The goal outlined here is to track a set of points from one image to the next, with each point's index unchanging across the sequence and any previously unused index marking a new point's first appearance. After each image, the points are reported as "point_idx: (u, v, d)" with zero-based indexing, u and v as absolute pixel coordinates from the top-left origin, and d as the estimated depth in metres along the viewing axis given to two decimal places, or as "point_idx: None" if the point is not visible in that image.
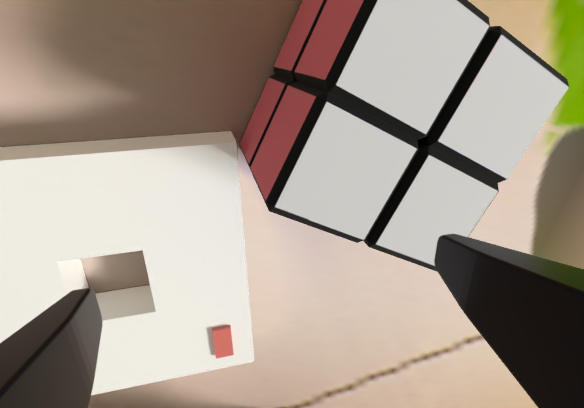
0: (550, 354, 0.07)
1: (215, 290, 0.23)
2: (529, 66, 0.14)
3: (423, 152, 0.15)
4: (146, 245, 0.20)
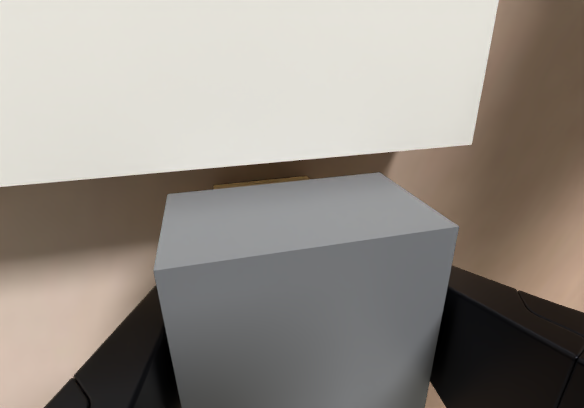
0: (467, 374, 0.07)
1: None
2: None
3: None
4: None
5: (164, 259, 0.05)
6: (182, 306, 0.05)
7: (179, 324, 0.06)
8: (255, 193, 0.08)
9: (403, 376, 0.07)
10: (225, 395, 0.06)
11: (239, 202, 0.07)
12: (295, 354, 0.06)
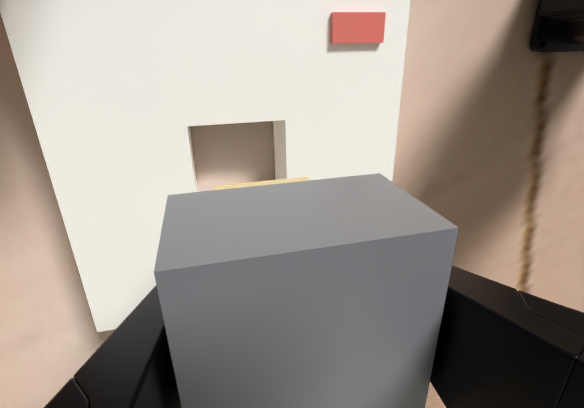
0: (467, 374, 0.07)
1: (263, 30, 0.15)
2: None
3: None
4: (179, 120, 0.16)
5: (164, 260, 0.05)
6: (182, 308, 0.05)
7: (179, 325, 0.06)
8: (255, 194, 0.08)
9: (403, 377, 0.07)
10: (225, 396, 0.06)
11: (239, 203, 0.07)
12: (296, 355, 0.06)
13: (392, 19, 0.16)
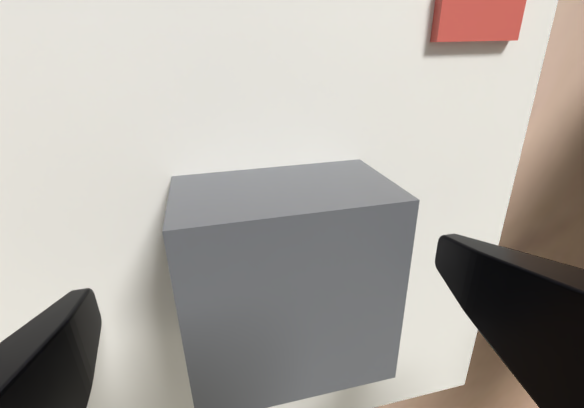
0: (550, 354, 0.07)
1: (319, 18, 0.08)
2: None
3: None
4: (170, 177, 0.09)
5: (170, 223, 0.07)
6: (185, 264, 0.07)
7: (183, 279, 0.07)
8: (248, 175, 0.09)
9: (376, 334, 0.09)
10: (221, 344, 0.08)
11: (234, 182, 0.08)
12: (281, 309, 0.08)
13: (533, 0, 0.09)
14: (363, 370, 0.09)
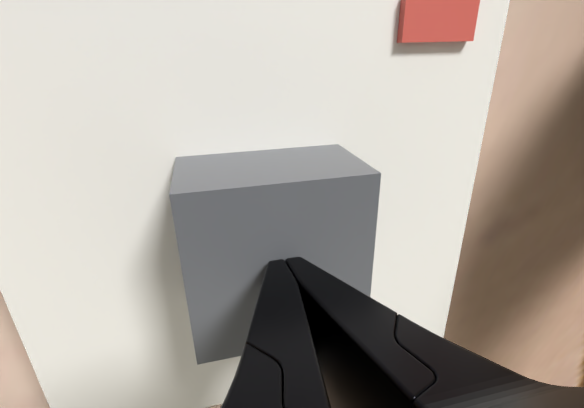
0: (345, 404, 0.06)
1: (300, 22, 0.10)
2: None
3: None
4: (174, 157, 0.10)
5: (176, 189, 0.08)
6: (188, 222, 0.08)
7: (185, 235, 0.08)
8: (241, 156, 0.10)
9: None
10: (217, 293, 0.09)
11: (229, 161, 0.10)
12: None
13: (486, 7, 0.11)
14: None
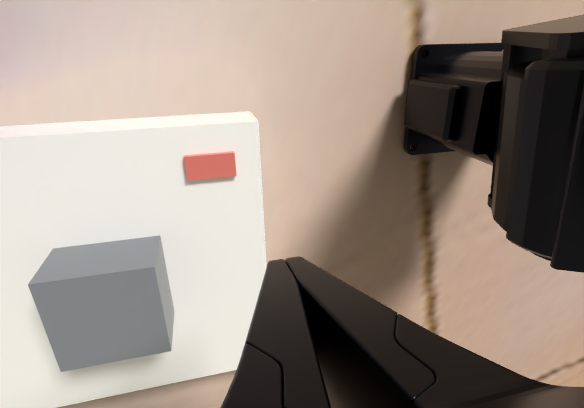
0: (345, 404, 0.06)
1: (121, 173, 0.17)
2: None
3: None
4: None
5: (33, 280, 0.15)
6: (41, 297, 0.15)
7: (40, 303, 0.15)
8: (91, 248, 0.18)
9: (152, 328, 0.17)
10: (66, 332, 0.16)
11: (80, 253, 0.17)
12: (94, 316, 0.16)
13: (244, 155, 0.18)
14: (150, 347, 0.18)
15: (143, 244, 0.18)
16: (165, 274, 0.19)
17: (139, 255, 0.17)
